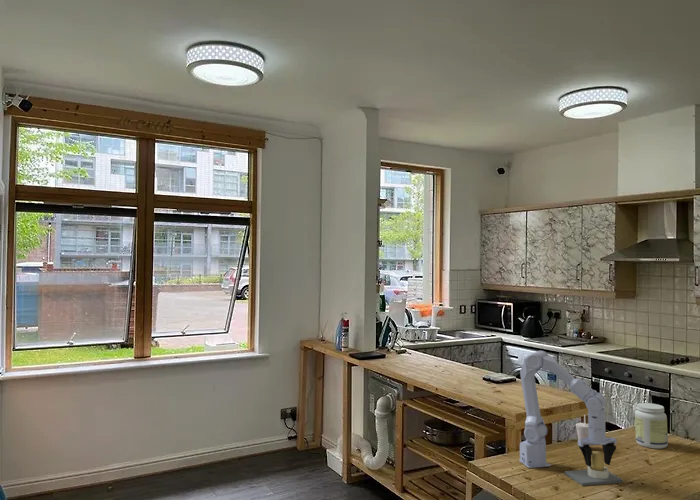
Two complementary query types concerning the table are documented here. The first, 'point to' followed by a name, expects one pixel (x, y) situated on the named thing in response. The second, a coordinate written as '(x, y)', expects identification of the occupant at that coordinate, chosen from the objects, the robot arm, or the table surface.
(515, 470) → the table surface
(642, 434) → the supplement tub
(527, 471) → the table surface
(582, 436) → the smoothie
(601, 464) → the peg
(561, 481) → the table surface
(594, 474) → the holder
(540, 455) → the robot arm
